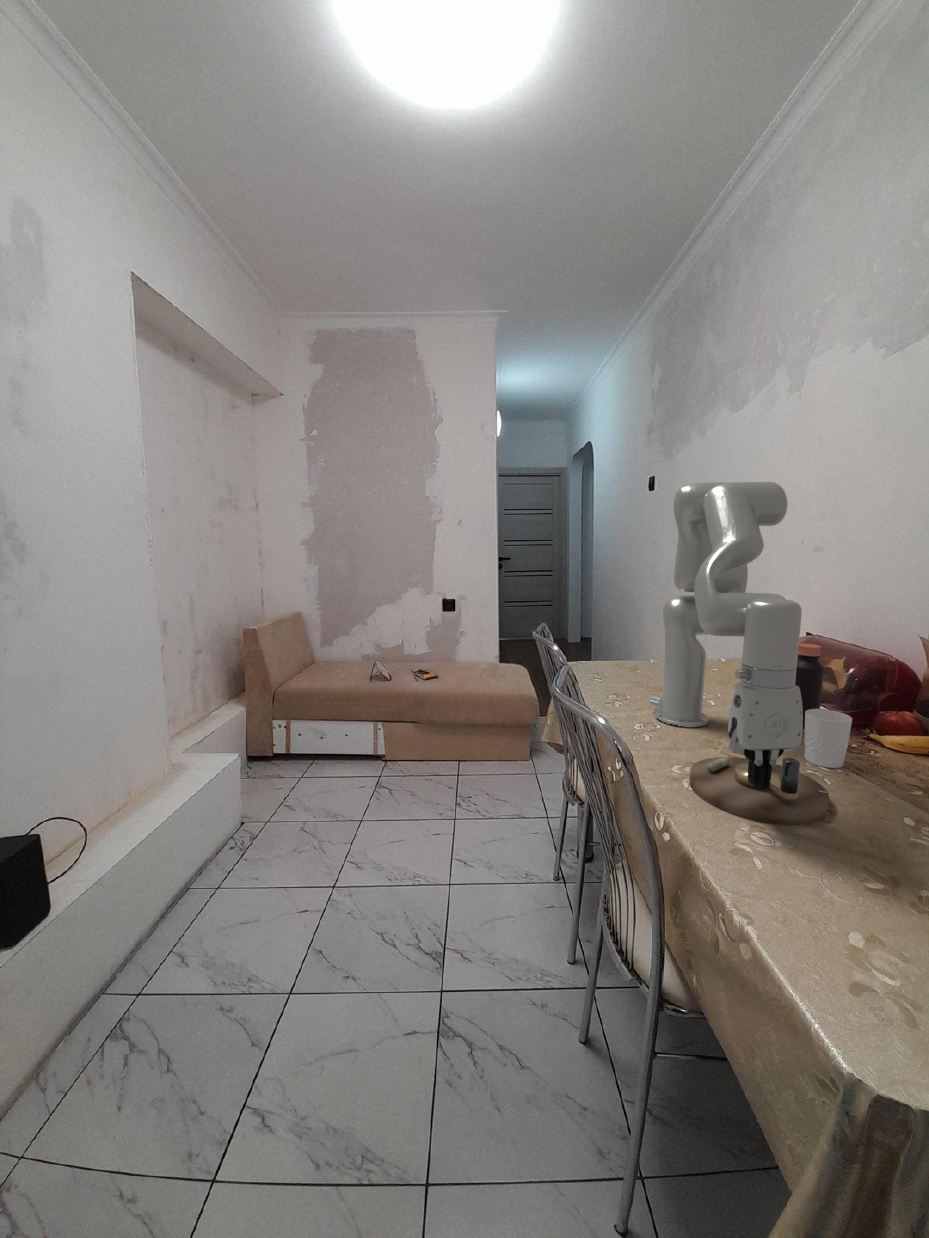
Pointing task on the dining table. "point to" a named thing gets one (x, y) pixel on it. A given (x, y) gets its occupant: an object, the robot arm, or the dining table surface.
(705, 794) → the base plate
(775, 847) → the dining table surface
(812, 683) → the bottle
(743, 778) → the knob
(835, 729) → the white cup
